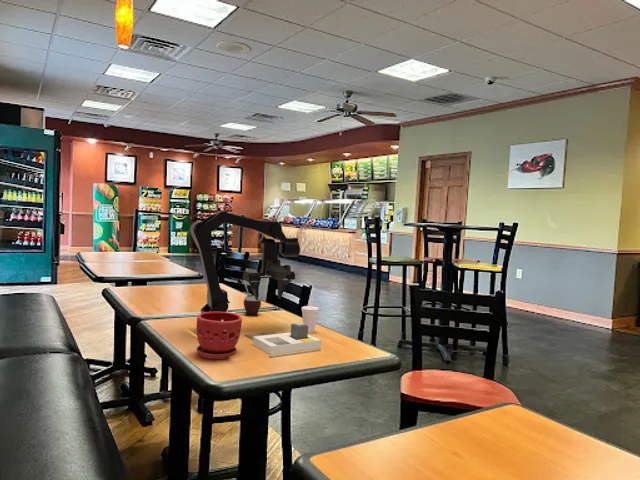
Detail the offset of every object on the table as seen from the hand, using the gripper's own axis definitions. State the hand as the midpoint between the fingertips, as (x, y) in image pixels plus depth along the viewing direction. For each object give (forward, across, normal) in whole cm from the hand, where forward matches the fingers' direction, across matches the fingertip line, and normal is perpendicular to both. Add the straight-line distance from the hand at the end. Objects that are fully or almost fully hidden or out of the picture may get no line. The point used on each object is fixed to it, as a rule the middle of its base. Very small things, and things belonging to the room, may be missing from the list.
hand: (268, 299), depth 170 cm
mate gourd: (+12, +7, +27) cm, 30 cm away
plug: (+12, 0, -21) cm, 24 cm away
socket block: (+12, -4, -21) cm, 25 cm away
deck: (+12, -5, -8) cm, 15 cm away
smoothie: (+12, +13, -8) cm, 20 cm away
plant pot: (+12, -26, -18) cm, 34 cm away
